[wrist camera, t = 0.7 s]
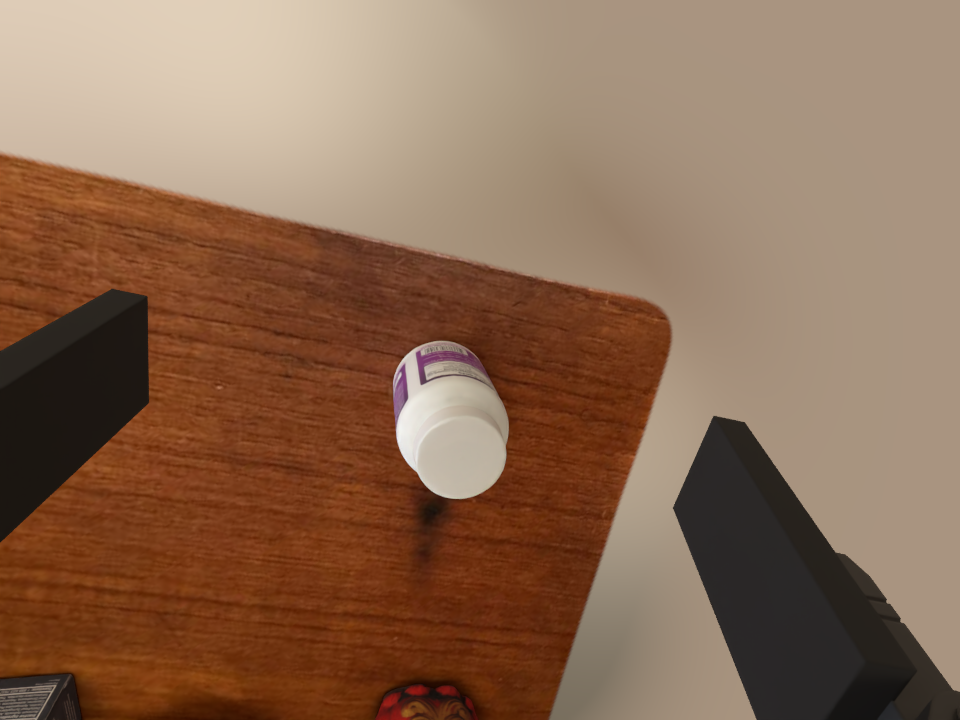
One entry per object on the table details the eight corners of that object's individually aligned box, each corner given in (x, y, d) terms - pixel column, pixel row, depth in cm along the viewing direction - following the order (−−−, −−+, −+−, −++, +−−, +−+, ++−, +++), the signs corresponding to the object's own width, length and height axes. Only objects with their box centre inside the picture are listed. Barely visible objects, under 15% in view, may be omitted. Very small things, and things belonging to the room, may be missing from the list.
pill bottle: (444, 442, 37) (465, 536, 28) (373, 389, 35) (371, 471, 26) (505, 375, 36) (546, 450, 27) (436, 318, 34) (456, 377, 25)
